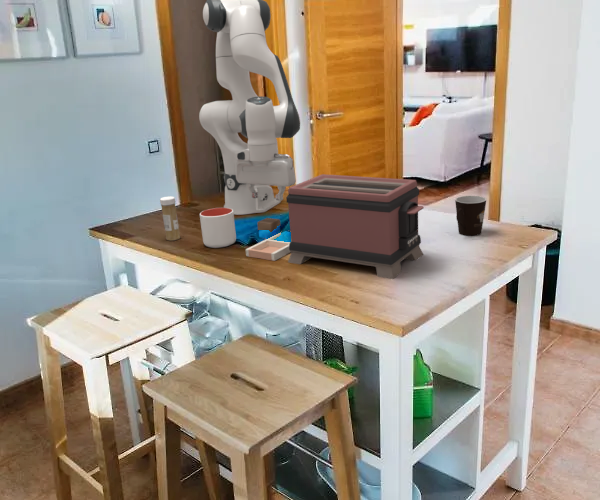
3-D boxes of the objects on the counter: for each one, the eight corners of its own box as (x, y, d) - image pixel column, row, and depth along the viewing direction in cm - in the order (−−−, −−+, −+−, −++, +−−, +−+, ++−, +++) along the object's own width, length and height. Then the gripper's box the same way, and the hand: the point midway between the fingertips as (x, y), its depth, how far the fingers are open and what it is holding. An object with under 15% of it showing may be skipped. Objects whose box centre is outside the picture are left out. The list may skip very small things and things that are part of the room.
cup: (241, 238, 186) (238, 207, 183) (229, 249, 177) (225, 216, 174) (211, 238, 189) (207, 207, 185) (198, 248, 179) (193, 216, 176)
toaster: (404, 281, 144) (402, 198, 138) (287, 262, 163) (281, 188, 156) (434, 256, 159) (434, 180, 153) (324, 241, 178) (319, 173, 171)
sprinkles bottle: (182, 238, 190) (176, 197, 186) (169, 242, 188) (162, 200, 184) (177, 235, 194) (171, 195, 190) (163, 238, 192) (157, 197, 187)
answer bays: (284, 236, 184) (284, 230, 184) (312, 240, 179) (311, 234, 178) (246, 256, 170) (245, 249, 169) (274, 260, 164) (274, 253, 164)
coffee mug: (472, 226, 180) (473, 194, 177) (491, 233, 173) (492, 199, 170) (440, 233, 176) (440, 200, 173) (458, 241, 169) (458, 206, 166)
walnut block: (268, 233, 190) (266, 217, 188) (281, 234, 187) (279, 219, 185) (258, 237, 186) (257, 222, 184) (271, 239, 183) (270, 223, 182)
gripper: (298, 152, 175) (301, 199, 179) (243, 150, 186) (247, 194, 190) (285, 156, 170) (289, 203, 174) (230, 154, 181) (234, 199, 185)
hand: (267, 199), depth 182 cm, fingers open, 8 cm apart
